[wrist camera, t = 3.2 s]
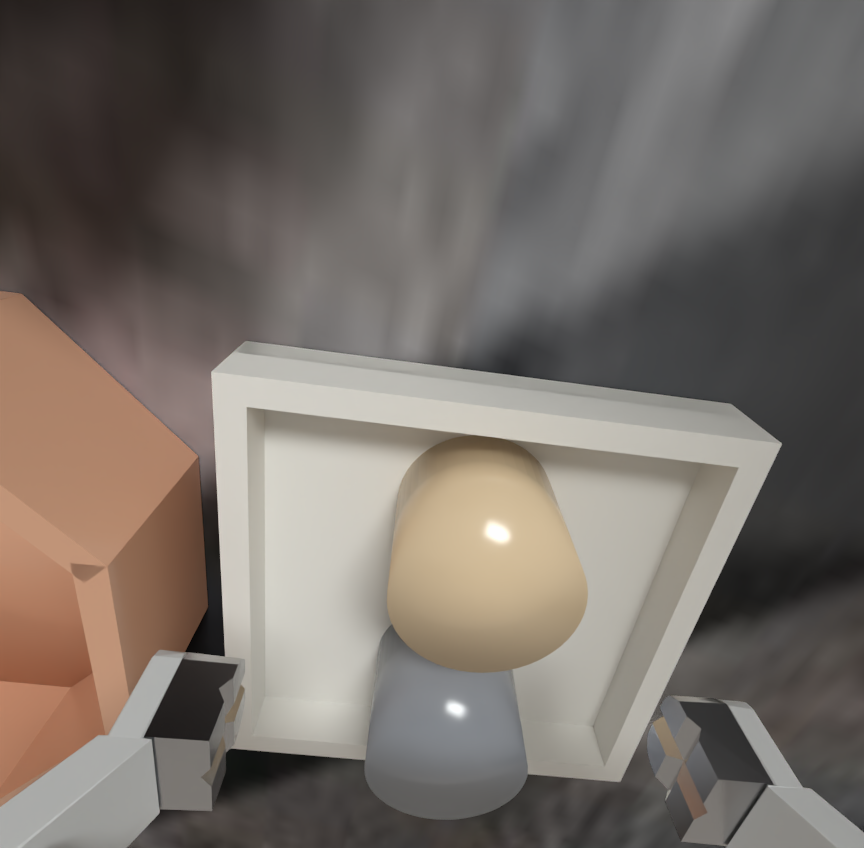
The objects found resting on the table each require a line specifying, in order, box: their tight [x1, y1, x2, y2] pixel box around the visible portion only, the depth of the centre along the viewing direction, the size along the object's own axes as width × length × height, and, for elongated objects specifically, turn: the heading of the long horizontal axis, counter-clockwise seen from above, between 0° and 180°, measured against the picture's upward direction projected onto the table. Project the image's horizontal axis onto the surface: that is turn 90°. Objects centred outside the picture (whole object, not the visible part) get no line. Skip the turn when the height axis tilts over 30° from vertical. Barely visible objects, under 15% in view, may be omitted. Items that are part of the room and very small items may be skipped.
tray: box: [211, 341, 782, 782], centre depth 17 cm, size 14×14×2 cm
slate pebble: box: [364, 625, 528, 820], centre depth 17 cm, size 5×5×4 cm
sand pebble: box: [387, 435, 588, 673], centre depth 14 cm, size 5×5×4 cm
